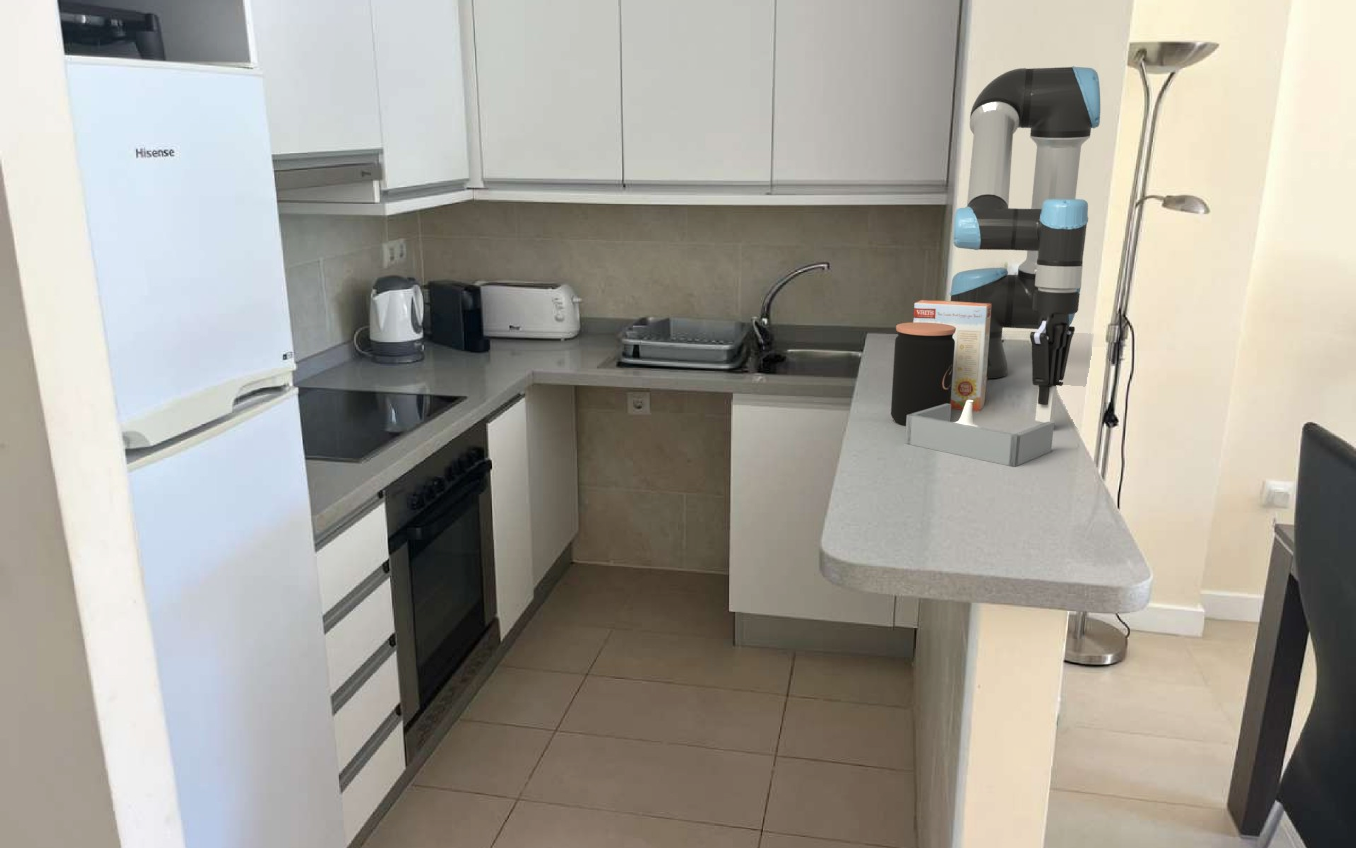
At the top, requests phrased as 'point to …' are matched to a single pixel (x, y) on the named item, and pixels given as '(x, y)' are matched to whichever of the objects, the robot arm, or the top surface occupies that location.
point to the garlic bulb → (967, 415)
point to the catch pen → (976, 438)
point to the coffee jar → (921, 368)
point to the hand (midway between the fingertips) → (1044, 421)
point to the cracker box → (963, 345)
